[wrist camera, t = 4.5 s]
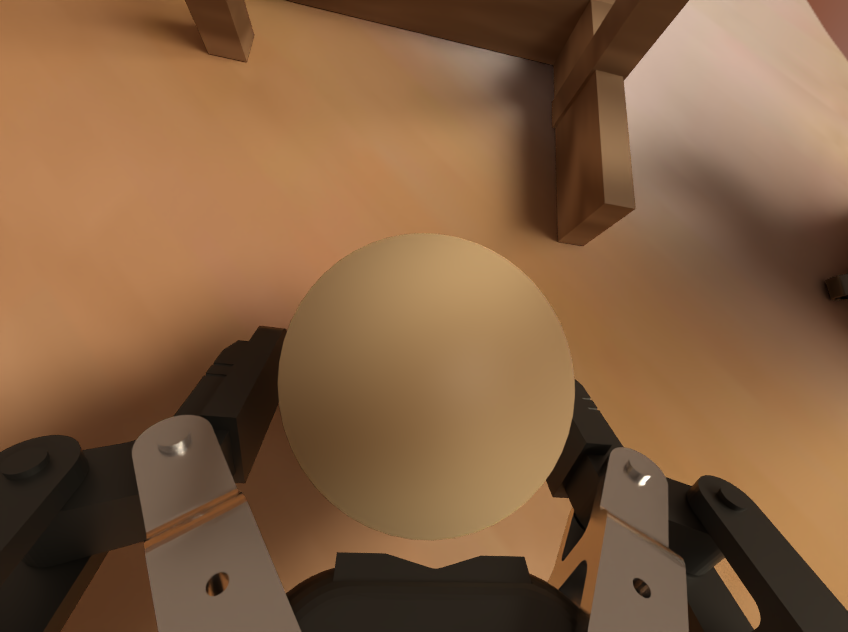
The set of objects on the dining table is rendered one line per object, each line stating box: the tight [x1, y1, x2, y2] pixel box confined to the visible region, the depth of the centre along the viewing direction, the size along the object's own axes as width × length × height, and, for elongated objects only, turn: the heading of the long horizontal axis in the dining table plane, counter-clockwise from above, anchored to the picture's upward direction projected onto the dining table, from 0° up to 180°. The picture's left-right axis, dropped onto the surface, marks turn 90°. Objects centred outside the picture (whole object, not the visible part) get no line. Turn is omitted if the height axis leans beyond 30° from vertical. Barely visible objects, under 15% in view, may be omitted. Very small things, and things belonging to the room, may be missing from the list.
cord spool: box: [278, 233, 575, 540], centre depth 11 cm, size 6×6×10 cm
